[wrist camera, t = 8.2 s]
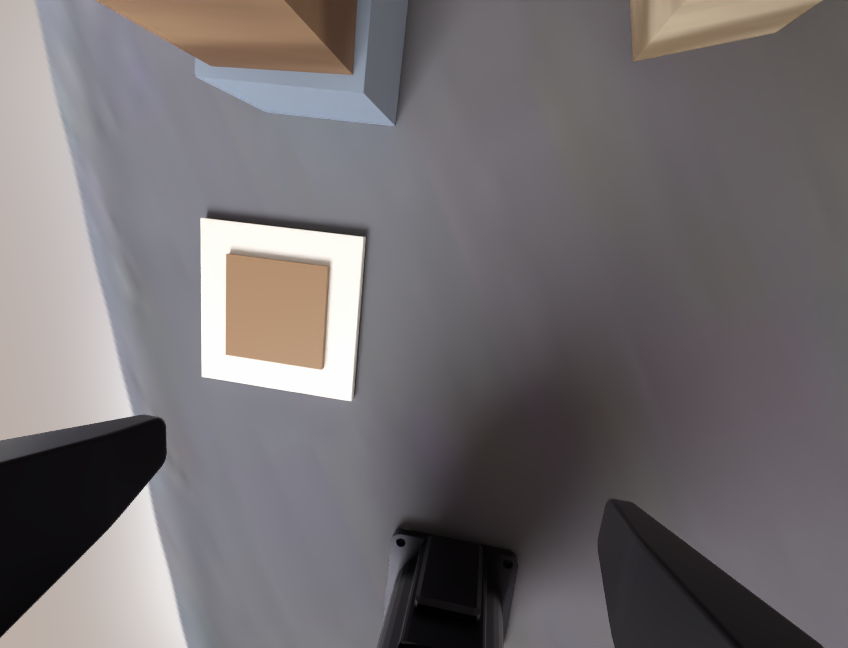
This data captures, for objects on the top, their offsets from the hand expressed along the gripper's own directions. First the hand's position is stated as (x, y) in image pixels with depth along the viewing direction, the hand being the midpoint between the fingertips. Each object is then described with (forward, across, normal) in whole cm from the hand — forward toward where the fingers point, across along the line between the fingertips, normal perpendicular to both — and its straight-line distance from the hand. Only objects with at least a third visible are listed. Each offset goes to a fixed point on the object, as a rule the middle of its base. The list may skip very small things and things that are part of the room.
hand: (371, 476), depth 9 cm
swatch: (+12, +8, 0) cm, 15 cm away
